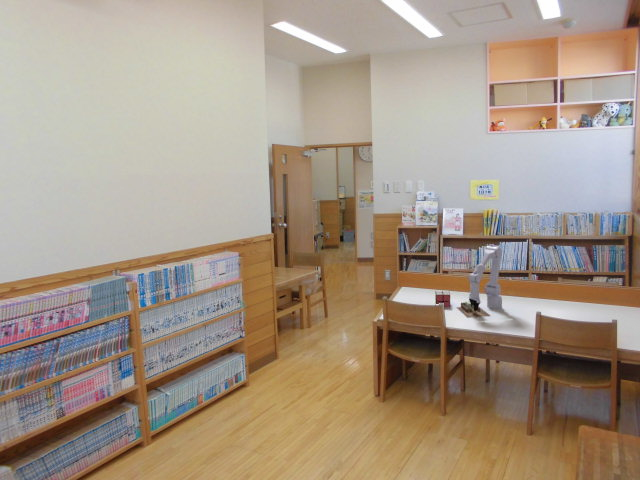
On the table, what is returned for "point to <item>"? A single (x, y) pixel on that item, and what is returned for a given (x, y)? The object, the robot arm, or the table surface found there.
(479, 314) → the shelf lane
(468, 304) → the sage block
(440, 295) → the puzzle cube
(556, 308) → the table surface
